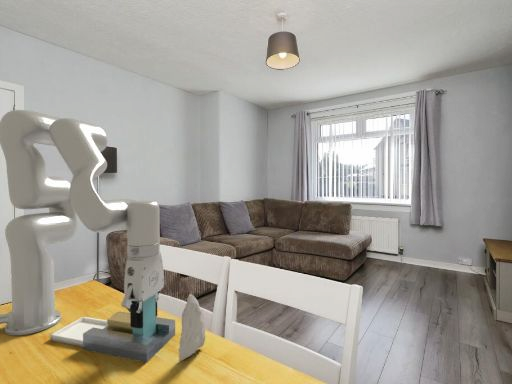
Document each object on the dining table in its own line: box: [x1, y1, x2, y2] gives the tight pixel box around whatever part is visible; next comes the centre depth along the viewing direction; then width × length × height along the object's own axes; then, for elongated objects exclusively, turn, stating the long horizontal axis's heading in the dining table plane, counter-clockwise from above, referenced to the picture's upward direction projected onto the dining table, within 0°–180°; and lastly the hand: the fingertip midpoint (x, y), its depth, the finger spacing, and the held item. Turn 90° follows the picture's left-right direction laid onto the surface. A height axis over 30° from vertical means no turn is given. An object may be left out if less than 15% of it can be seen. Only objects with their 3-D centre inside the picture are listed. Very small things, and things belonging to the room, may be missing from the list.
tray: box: [49, 316, 107, 348], centre depth 75 cm, size 11×10×2 cm
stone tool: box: [178, 293, 206, 362], centre depth 65 cm, size 8×3×15 cm, turn 150°
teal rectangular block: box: [133, 294, 157, 337], centre depth 70 cm, size 3×5×11 cm, turn 165°
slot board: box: [82, 311, 176, 363], centre depth 71 cm, size 18×12×4 cm, turn 75°
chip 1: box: [106, 311, 130, 332], centre depth 72 cm, size 4×4×4 cm
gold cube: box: [121, 316, 133, 334], centre depth 71 cm, size 4×4×4 cm
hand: (144, 320), depth 70 cm, fingers closed on teal rectangular block, 4 cm apart
